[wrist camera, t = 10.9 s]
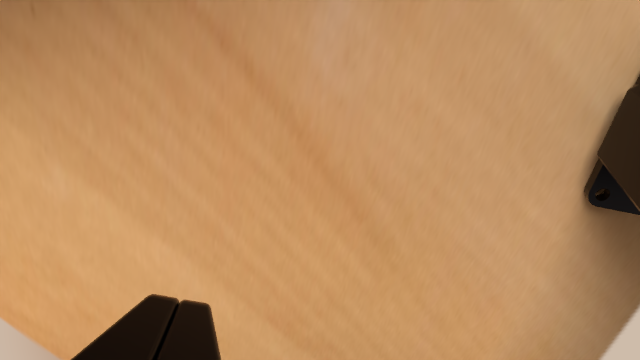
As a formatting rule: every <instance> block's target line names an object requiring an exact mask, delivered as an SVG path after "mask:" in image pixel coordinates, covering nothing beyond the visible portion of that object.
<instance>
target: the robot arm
mask: <svg viewBox="0 0 640 360" xmlns="http://www.w3.org/2000/svg"><path fill="white" fill-rule="evenodd" d="M598 156H599V160H598V162H597V164H596V166H595V168H594V170H593V172H592V174H591V176H590V178H589V180H588V182H587V184H586V186H585V190H584V192H585V196H586V197H587V199H588V200H589V202H590V203H591V204H592V205H594V206H597V207H602V208H607V209H612V210H617V211H622V212H627V213H632V214H637V215H640V76H639V78H638V80H637V82H636V84H635V86H633V87H632V88H630V89H629V90H628V91H627V93H626V95H625V97H624V99H623V101H622V103H621V106H620V108H619V110H618V112H617V114H616V116H615V118H614V120H613V122H612V124H611V126H610V128H609V130H608V132H607V134H606V136H605V139H604V141H603V143H602V145H601V147H600V149H599V151H598ZM600 189H606V190H605V192H604V193H603V194H600V195H595V194H596V192H597V191H598V190H600ZM71 360H221V357H220V352H219V347H218V342H217V337H216V332H215V327H214V322H213V317H212V312H211V308H210V306H209V305H208V304H206V303H201V302H196V301H190V300H183V301H181V302H180V303H179V300H178V299H177V298H173V297H167V296H162V295H156V294H152V295H149V296H147V297H146V298H145V299H144V300H142V301H141V302H140V303H139V304H138V305H136V306H135V307H134V308H133V309H132V310H130V311H129V312H128V313H127V314H126V315H124V316H123V317H122V318H121V319H119V320H118V321H117V322H116V323H115V324H113V325H112V326H111V327H110V328H109V329H107V330H106V331H105V332H104V333H103V334H101V335H100V336H99V337H98V338H96V339H95V340H94V341H93V342H92V343H90V344H89V345H88V346H87V347H86V348H84V349H83V350H82V351H81V352H80V353H78V354H77V355H76V356H75V357H73V358H72V359H71Z"/></svg>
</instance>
